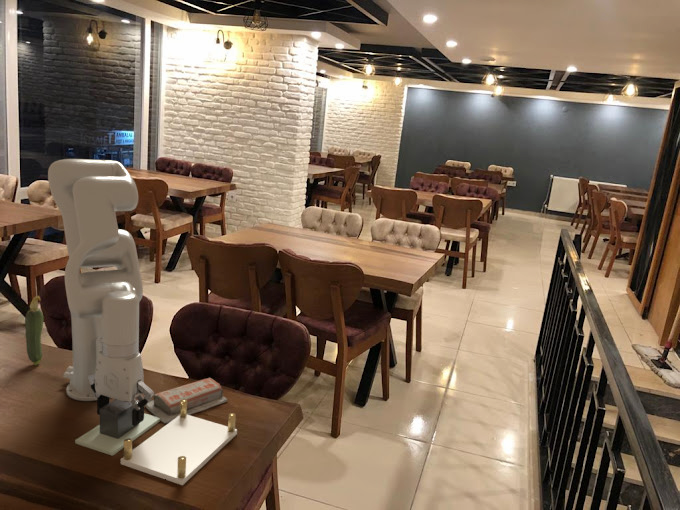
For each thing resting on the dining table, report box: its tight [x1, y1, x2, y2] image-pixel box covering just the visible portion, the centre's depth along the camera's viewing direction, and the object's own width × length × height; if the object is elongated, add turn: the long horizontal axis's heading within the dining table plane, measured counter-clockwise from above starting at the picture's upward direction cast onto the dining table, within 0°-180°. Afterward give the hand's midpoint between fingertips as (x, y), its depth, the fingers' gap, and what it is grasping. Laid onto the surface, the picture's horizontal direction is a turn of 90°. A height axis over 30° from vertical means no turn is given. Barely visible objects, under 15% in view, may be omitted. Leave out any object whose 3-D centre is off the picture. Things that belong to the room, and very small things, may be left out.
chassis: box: [120, 399, 238, 486], centre depth 122 cm, size 15×21×5 cm
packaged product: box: [144, 377, 229, 424], centre depth 140 cm, size 18×5×10 cm
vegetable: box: [24, 295, 44, 366], centre depth 152 cm, size 4×4×20 cm
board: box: [74, 399, 161, 457], centre depth 126 cm, size 10×16×7 cm, turn 160°
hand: (120, 417), depth 126 cm, fingers open, 9 cm apart
